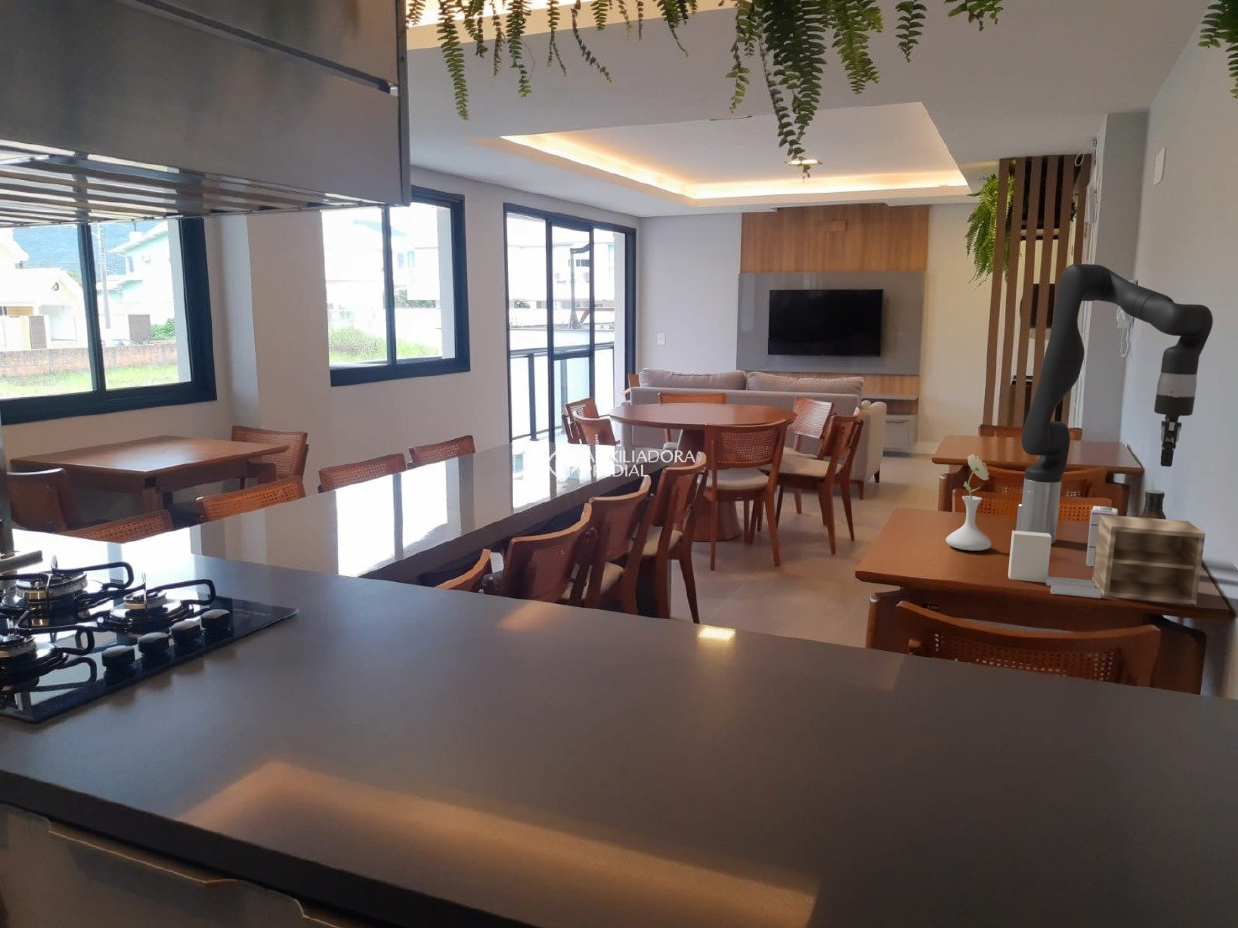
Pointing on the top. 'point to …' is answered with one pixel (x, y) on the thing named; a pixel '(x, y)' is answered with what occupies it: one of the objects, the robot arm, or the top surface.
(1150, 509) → the sauce bottle
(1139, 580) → the carcass
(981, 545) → the flower in vase
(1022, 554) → the white rectangular block
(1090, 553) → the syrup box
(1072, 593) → the grey slotted stand
